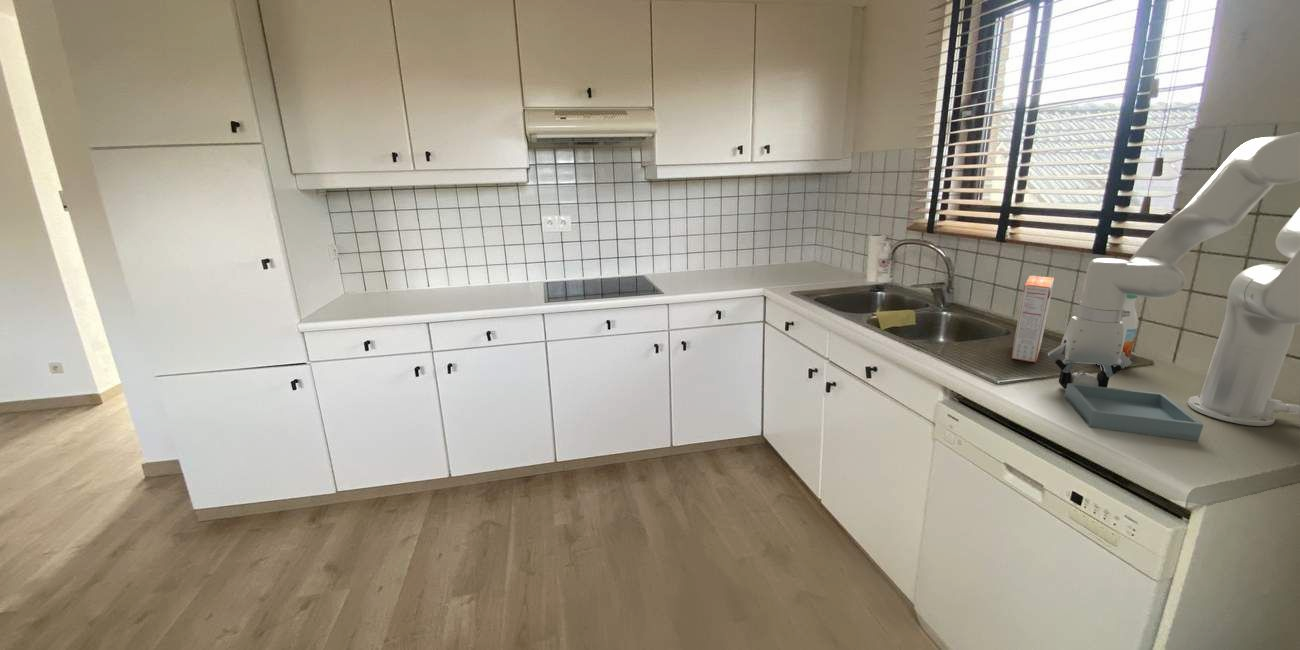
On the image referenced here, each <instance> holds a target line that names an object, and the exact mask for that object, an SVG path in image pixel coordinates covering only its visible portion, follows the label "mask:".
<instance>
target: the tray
mask: <svg viewBox="0 0 1300 650" xmlns="http://www.w3.org/2000/svg"><path fill="white" fill-rule="evenodd" d="M1064 399H1065V400H1066V401H1067V403H1069V405H1070V406H1071V407H1072V408H1073V410H1075V412H1076V413H1077V415H1079V417H1080V418H1081V419H1082V420H1083V421H1084V422H1085V423H1086V424H1087V426H1088V427H1089V428H1095V429H1099V430H1100V429H1101V430H1108V431H1114V432H1115V431H1117V432H1123V431H1125V432H1124V433H1131V432H1132V434H1139V433H1141V435H1146V434H1147V435H1148V436H1154V435H1155V436H1156V437H1162V438H1163V437H1164V438H1171V439H1177V440H1178V439H1179V440H1185V441H1186V440H1187V441H1194V442H1198V441H1199V440H1200V436H1201V433H1202V431H1203V428H1204V424H1203V423H1202V422H1201V421H1200V420H1198V419H1197V418H1195V417H1194V416H1193V415H1192V414H1190V413H1189V412H1188V411H1187V410H1185V409H1184V408H1182V407H1181V405H1179V404H1177V403H1176V402H1175V401H1174V400H1173V399H1171V398H1170V397H1168V396H1167V395H1166V394H1164V393H1162V392H1152V391H1144V390H1135V389H1134V390H1133V389H1126V388H1125V389H1124V388H1117V387H1116V388H1114V387H1108V386H1107V387H1098V386H1089V385H1080V384H1071V383H1068V384H1067V388H1066V389H1065V392H1064ZM1147 435H1146V436H1147Z"/></svg>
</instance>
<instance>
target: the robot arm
mask: <svg viewBox="0 0 1300 650" xmlns="http://www.w3.org/2000/svg"><path fill="white" fill-rule="evenodd" d="M1297 182H1300V131H1297V132H1294V133H1289V134H1285V135H1270V136H1264V137H1263V136H1262V137H1261V136H1260V137H1258V138H1257V137H1256V138H1252V139H1250V140H1248V141H1245V142H1244V143H1243V144H1240V146H1238V147H1237V148H1236V149H1235V150H1233V152H1232V153H1231V154H1229V156H1228V157H1227V158H1226V159H1225V161H1223V163H1222V164H1221V165H1220V166H1219V167H1218V169H1217V170H1216V171H1215V172H1214V173H1213V174H1212V175H1211V177H1210V178H1209V179H1208V180H1207V181H1206V182H1205V184H1204V185H1203V186H1202V187H1201V188H1200V189H1199V190H1198V191H1197V193H1196V194H1195V195H1194V196H1193V197H1192V199H1190V201H1188V203H1187V204H1186V205H1185V206H1184V207H1183V208H1182V209H1181V210H1180V211H1179V212H1177V213H1175V215H1173V216H1172V217H1171V218H1170V219H1169V220H1167V221H1166V222H1165V223H1164V224H1163V225H1162V226H1159V228H1158V229H1157V230H1155V231H1154V232H1153V233H1152V234H1151V235H1149V237H1148V238H1147V239H1146V240H1145V241H1144V242H1143V244H1141V245H1140V247H1139V248H1138V249H1137V250H1136V252H1134V254H1133V255H1132V256H1131V257H1130V258H1129V260H1126V259H1122V258H1114V257H1113V258H1112V257H1099V258H1094V259H1092V260H1090V262H1089V263H1088V266H1087V270H1086V274H1085V278H1084V279H1085V280H1084V283H1083V287H1082V293H1081V296H1080V301H1079V305H1078V309H1077V314H1076V315H1075V316H1072V317H1071V318H1070V320H1069V322H1068V324H1067V327H1066V329H1065V330H1064V334H1063V337H1062V339H1061V341H1060V345H1058V346H1057V347H1055V348H1054V349H1051V350H1050V351H1049V352H1048V353H1047V356H1048V357H1049V358H1050V359H1051V361H1053V362H1054V363H1055V365H1056V366H1058V368H1059V369H1060V373H1059V378H1058V384H1060V386H1061V387H1062V388H1063V389H1064V390H1066V388H1067V384H1068V383H1070V380H1071V375H1072V374H1073V373H1072V372H1071V370H1072V368H1073V367H1074V366H1075V365H1076V364H1078V363H1080V364H1090V365H1096V364H1098V365H1097V366H1099V365H1100V366H1099V367H1100V370H1101V371H1099V372H1098V373H1097V375H1096V378H1097V379H1098V383H1099V385H1098V387H1108V384H1109V380H1110V378H1111V377H1113V375H1115V374H1116V373H1119V372H1120V371H1121V370H1123V369H1126V368H1127V367H1128V366H1130V365H1132V364H1133V362H1132V361H1131V360H1130V358H1129V359H1128V358H1127V356H1126V355H1125V354H1124V353H1123V352H1122V344H1123V323H1122V322H1121V321H1122V318H1123V317H1129V316H1130V311H1125V310H1124V309H1123V308H1124V304H1125V300H1126V297H1127V294H1130V295H1136V296H1138V297H1142V298H1147V299H1155V300H1158V299H1159V300H1160V299H1161V300H1162V299H1168V298H1171V297H1174V296H1176V295H1177V294H1179V293H1180V292H1181V291H1182V290H1183V289H1184V288H1185V286H1186V276H1185V274H1184V272H1183V271H1182V270H1181V269H1180V268H1179V267H1177V266H1176V265H1177V264H1178V263H1179V262H1180V261H1181V259H1182V258H1183V257H1184V256H1185V255H1187V254H1188V253H1189V252H1190V251H1192V249H1194V248H1195V247H1196V246H1198V245H1200V244H1201V243H1202V242H1205V241H1207V240H1209V239H1212V238H1214V237H1216V236H1219V235H1222V234H1224V233H1226V232H1228V231H1230V230H1232V229H1234V228H1235V227H1237V226H1238V225H1239V224H1240V223H1241V222H1242V221H1243V219H1245V217H1246V216H1248V214H1249V213H1250V212H1251V211H1252V209H1254V208H1255V206H1257V205H1258V203H1259V202H1260V201H1261V200H1262V199H1263V197H1265V196H1266V195H1267V193H1268V192H1270V191H1271V189H1273V187H1275V186H1280V185H1288V184H1293V183H1297ZM1275 247H1276V249H1277V250H1278V252H1279V253H1280V254H1281V255H1282V256H1284V257H1286V258H1289V259H1290V260H1289V261H1288V262H1287V263H1286V265H1285V264H1284V265H1283V264H1280V263H1279V264H1278V263H1261V264H1257V265H1253V266H1251V267H1248V268H1245V269H1244V270H1242V271H1241V272H1240V273H1238V274H1237V275H1236V276H1235V277H1234V279H1233V280H1232V282H1231V284H1230V285H1229V289H1228V294H1227V300H1226V301H1227V302H1226V311H1225V316H1224V320H1223V324H1222V327H1221V331H1220V334H1219V337H1218V339H1217V342H1216V345H1215V348H1214V352H1213V355H1212V357H1211V361H1210V364H1209V368H1208V370H1207V374H1206V376H1205V379H1204V384H1203V386H1202V390H1201V393H1200V395H1194V396H1193V395H1192V396H1190V397H1188V401H1187V405H1188V406H1189V407H1190V408H1191V409H1192V410H1194V411H1196V412H1198V413H1200V414H1203V415H1204V416H1207V417H1210V418H1213V419H1217V420H1220V421H1223V422H1227V423H1228V422H1229V423H1234V424H1239V425H1244V426H1252V427H1267V426H1271V425H1273V424H1274V423H1275V420H1276V416H1275V415H1274V414H1278V413H1279V412H1280V413H1285V414H1291V415H1292V414H1293V415H1298V414H1300V405H1299V404H1295V403H1294V404H1293V403H1283V401H1282V400H1280V399H1273V398H1272V394H1273V391H1274V388H1275V386H1276V383H1277V380H1278V378H1279V375H1280V372H1281V369H1282V367H1283V364H1284V362H1285V358H1286V356H1287V353H1288V351H1289V348H1290V346H1291V343H1292V341H1293V340H1292V339H1293V337H1294V333H1295V326H1296V325H1299V326H1300V206H1299V207H1298V208H1297V210H1296V211H1295V212H1294V214H1292V216H1291V217H1290V219H1289V220H1287V222H1286V223H1285V224H1284V226H1283V227H1282V228H1281V229H1280V231H1279V233H1278V234H1277V236H1276V239H1275ZM1060 355H1061V356H1063V357H1064V359H1063V360H1062V359H1060V358H1059V356H1060ZM1119 359H1120V361H1119ZM1125 367H1126V368H1125Z"/></svg>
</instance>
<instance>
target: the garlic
mask: <svg viewBox="0 0 1300 650" xmlns="http://www.w3.org/2000/svg"><path fill="white" fill-rule="evenodd" d="M1071 374H1072V375H1071V380H1070V383H1071V384H1080V385H1089V386H1098V385H1099V383H1098V379H1097V376H1095V375H1093V374H1091V373H1088V372H1086V371H1084V370H1083V369H1081V370H1078V371H1077V372H1073V373H1071Z"/></svg>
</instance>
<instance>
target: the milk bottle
mask: <svg viewBox="0 0 1300 650" xmlns="http://www.w3.org/2000/svg"><path fill="white" fill-rule="evenodd" d="M1138 297H1139V296H1136V295H1130V294H1127V297H1126V300H1125V304H1124V308H1123V309H1124V310H1125V311H1130V316H1129V317H1123V318H1122V321H1121V322H1122V323H1123V344H1122V352H1123V353H1124V354H1125V355H1126V356H1127V358H1128V359H1129V360H1130V359H1131V354H1132V350H1133V347H1134V345H1135V344H1134V343H1135V338H1136V335H1137V333H1138V332H1137V331H1138V327H1139V318H1138V314H1137V310H1136V306H1135V305H1136V304H1135V303H1136V301H1137V299H1138ZM1119 361H1120V359H1119ZM1097 366H1099V365H1098V364H1097Z"/></svg>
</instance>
